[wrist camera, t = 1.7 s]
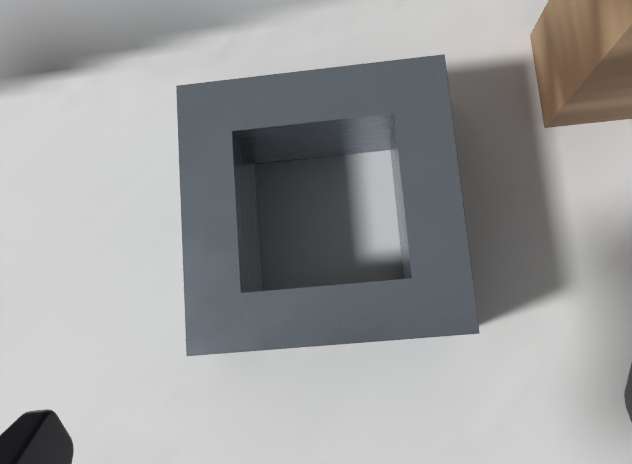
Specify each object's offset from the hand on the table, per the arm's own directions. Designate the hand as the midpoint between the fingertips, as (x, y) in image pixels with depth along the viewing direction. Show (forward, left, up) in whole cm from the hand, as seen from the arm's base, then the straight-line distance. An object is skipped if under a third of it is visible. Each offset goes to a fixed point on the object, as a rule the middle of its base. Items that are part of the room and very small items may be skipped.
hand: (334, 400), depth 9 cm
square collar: (+5, -1, -13) cm, 15 cm away
